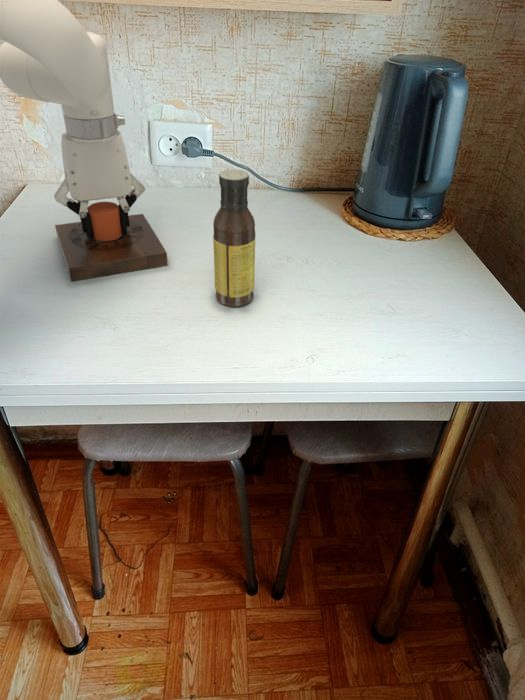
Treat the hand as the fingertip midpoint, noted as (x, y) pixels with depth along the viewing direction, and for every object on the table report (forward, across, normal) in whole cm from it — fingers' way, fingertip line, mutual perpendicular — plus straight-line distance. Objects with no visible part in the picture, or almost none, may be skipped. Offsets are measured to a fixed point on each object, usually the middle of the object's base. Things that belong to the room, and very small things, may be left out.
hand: (106, 232), depth 90 cm
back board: (+3, 0, +2) cm, 3 cm away
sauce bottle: (+3, -15, +23) cm, 28 cm away
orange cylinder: (0, 0, 0) cm, 0 cm away
